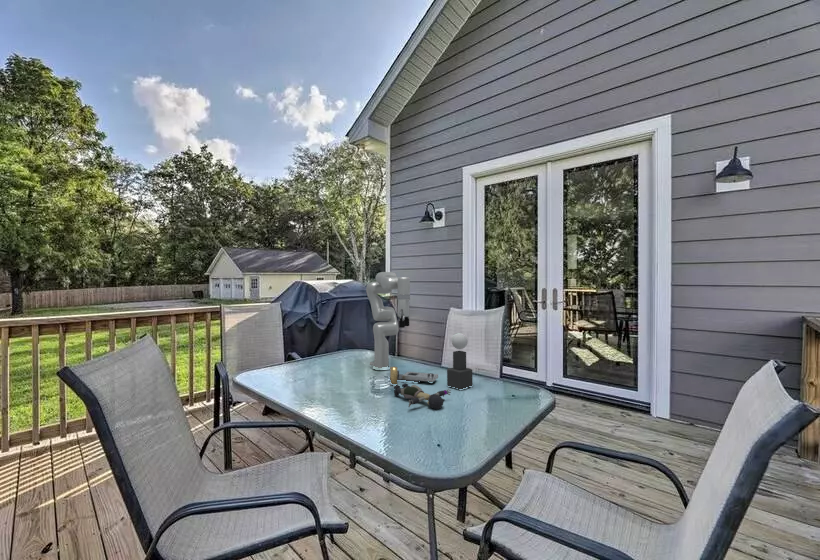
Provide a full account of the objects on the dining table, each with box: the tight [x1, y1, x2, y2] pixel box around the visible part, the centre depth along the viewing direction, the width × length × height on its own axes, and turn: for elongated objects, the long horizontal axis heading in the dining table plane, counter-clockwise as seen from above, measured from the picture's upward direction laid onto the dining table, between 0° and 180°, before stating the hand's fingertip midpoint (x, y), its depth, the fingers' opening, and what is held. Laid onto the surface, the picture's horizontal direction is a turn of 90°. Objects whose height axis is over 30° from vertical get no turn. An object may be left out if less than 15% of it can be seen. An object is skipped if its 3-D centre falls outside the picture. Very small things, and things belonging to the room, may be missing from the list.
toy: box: [393, 382, 452, 410], centre depth 180 cm, size 27×7×30 cm
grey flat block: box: [397, 369, 439, 382], centre depth 219 cm, size 28×10×5 cm, turn 68°
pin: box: [389, 366, 398, 385], centre depth 210 cm, size 4×4×10 cm
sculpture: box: [446, 332, 474, 389], centre depth 205 cm, size 10×10×30 cm
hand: (404, 326), depth 218 cm, fingers open, 9 cm apart
